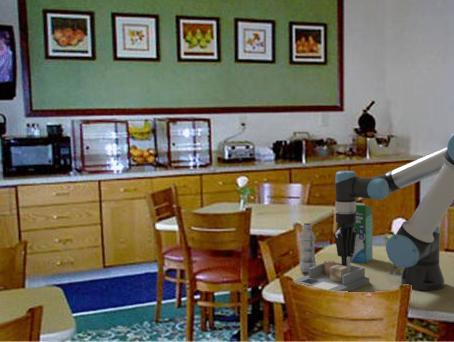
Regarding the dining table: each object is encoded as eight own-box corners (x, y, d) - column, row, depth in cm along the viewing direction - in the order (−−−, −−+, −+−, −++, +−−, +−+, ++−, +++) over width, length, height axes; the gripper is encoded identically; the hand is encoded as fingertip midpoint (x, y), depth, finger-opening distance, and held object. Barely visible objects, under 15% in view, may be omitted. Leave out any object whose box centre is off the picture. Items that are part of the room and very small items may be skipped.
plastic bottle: (312, 276, 231) (311, 226, 229) (297, 273, 234) (296, 225, 232) (319, 271, 236) (318, 223, 234) (303, 269, 240) (302, 222, 238)
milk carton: (372, 258, 254) (372, 202, 252) (365, 263, 247) (365, 205, 244) (352, 256, 259) (352, 200, 256) (345, 261, 251) (344, 203, 249)
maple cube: (348, 279, 217) (348, 266, 217) (341, 282, 214) (341, 269, 213) (337, 277, 221) (337, 264, 220) (329, 280, 217) (329, 267, 217)
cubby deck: (369, 282, 219) (369, 268, 219) (336, 297, 204) (335, 282, 203) (325, 273, 233) (325, 260, 233) (291, 286, 218) (290, 272, 217)
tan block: (337, 274, 225) (337, 261, 225) (331, 276, 222) (331, 263, 222) (328, 272, 228) (328, 259, 227) (322, 274, 225) (322, 262, 225)
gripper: (347, 208, 225) (347, 268, 228) (327, 213, 216) (327, 275, 219) (363, 210, 220) (363, 271, 223) (344, 215, 211) (344, 279, 213)
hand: (346, 273), depth 221 cm, fingers closed
